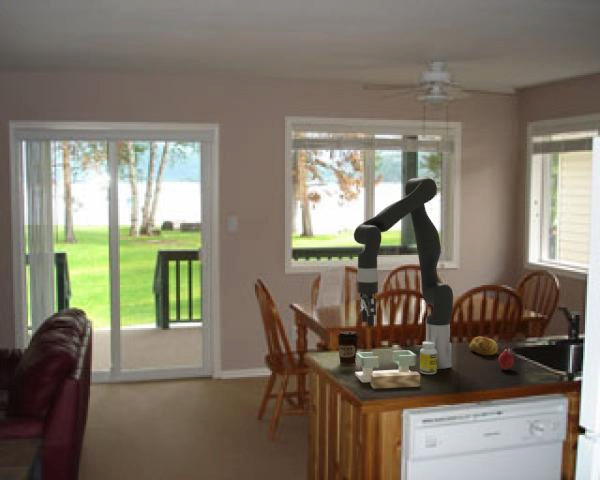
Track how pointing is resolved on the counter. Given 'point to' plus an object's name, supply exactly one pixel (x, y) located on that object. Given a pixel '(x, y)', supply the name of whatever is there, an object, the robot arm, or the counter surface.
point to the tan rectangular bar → (395, 379)
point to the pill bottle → (428, 358)
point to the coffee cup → (347, 347)
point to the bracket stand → (370, 362)
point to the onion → (506, 360)
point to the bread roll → (483, 346)
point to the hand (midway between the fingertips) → (367, 323)
